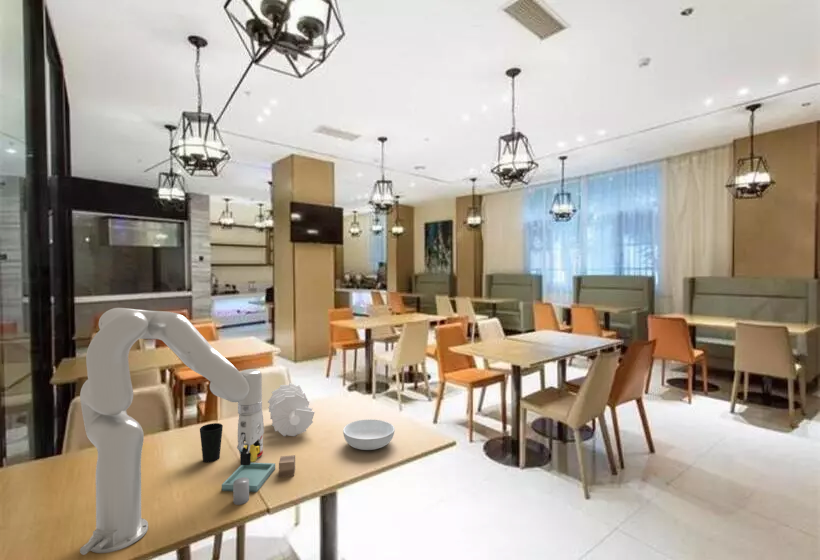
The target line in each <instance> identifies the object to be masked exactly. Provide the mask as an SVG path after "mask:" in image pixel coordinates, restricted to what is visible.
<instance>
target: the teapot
mask: <svg viewBox="0 0 820 560" xmlns="http://www.w3.org/2000/svg"><path fill="white" fill-rule="evenodd" d="M244 448H246V449H247V445H244ZM256 448H257V450H256ZM259 452H260V447H259V446H254V445H250V451H249V453H250V454H251V463H256V461H257V460H258V458H257V454H258V453H259Z"/></svg>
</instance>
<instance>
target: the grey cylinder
mask: <svg viewBox="0 0 820 560" xmlns="http://www.w3.org/2000/svg"><path fill="white" fill-rule="evenodd" d="M232 492H233V494H232V495H233V496H232V497H233V502H232V503H233V504H234V505H237V506H239V505H244V504H246V503H248V502H249V500H250V492H249V479H248V478H245V477H243V478H239V479H236V480H235V481H234V482H233V491H232Z"/></svg>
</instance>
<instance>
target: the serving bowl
mask: <svg viewBox="0 0 820 560" xmlns="http://www.w3.org/2000/svg"><path fill="white" fill-rule="evenodd" d="M395 428H396V427H395V426H394V425H393V424H392V423H390V422H388V421H385V420H381V419H376V418H375V419H372V418H371V419H360V420H359V419H358V420H355V421H352V422H350V423H348V424H346V425H345V426H344V427H343V429H342V433H343V437H344V440H345V442H346V443H347V444H348V445H349V446H351V447H352V448H355V449H357V450H361V451H372V450H373V451H374V450H378V449H381V448H384V447H386V446H387V445H388V444H389V443H390V442H391V441H392V439H393V438H394V435H395Z"/></svg>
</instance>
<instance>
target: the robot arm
mask: <svg viewBox="0 0 820 560" xmlns="http://www.w3.org/2000/svg"><path fill="white" fill-rule="evenodd" d="M98 328H99V331H98V332H96V333H95V335H94V336H93V337H92V340H90V343H89V345H88V347H87V350H86V356H85V357H86V358H85V364H86V373H87V379H86V380H85V382H84V383H83V384H82V386H81V388H80V393H79V400H80V402H79V403H80V407H81V413H82V419H83V424H84V430H85V433H86V437H87V439H88V440H89V442H90V443H91V444H92V445H93V446H94V447H95V448H96V450H97V461H96V466H95V467H96V468H95V523H96V524H95V530H93V531H92V535H91V536H90V538H89V539H88V542H86V543H85V544H84V545H82V546H81V547H80V549H79V552H80V554H81V555H83V556H85V555H87V554H88V553H89V552H92V553H96V554H106V553H113V552H116V551H119V550H123V549H125V548H127V547H129V546H131V545H133V544H135V543H136V542H138V541H139V540H141V539H142V538H143V537H144V536H145V535H146V533H147V532H148V530H149V522H148V521H147V520H146V519H144V518H142V453H143V452H142V451H143V445H144V434H145V433H144V431H143V428H142V426H141V423H140V422H139V421H137V420H136V419H134V418H133V417H132V416H131V415H128V412H127V409H129V408H130V406H131V405H132V403H133V400H134V389H133V384H132V378H131V372H130V363H129V355H130V354H129V353H130V350H131V349H132V346H133V345H134V344H135V343H136V342H137V341H138V340H142V339H143V340H160V341H162V342H163V343H164V344H165V345H166V346H167V347H168V348H169V350H171V351H172V352H173V353H174V354H175V355H176V356H177V357H178V358H179V360H181V362H182V363H183V364H184V365H186V367H188V368H189V369H191V371H193V372H195V373H197V374H198V375H200V376H202V377H203V378H205V379H207V380H208V381H209V382H210V383H209V390H210V392H211V394H212V395H214V396H216V397H218V398H220V399H223V400H225V401H228V402H230V403H237V414H238V423H237V443H238V444H237V445H236V446H237V447H236V449H237V451H238V452H239V456H240V458H239V460H240V461H239V462H240V465H250V464H251V463H252V462H251V454H250V453H249V451H250V445H254V446H259V447H260V443H259V442H260V441H261V439H260V437H261V436H262V435H263V436H264V433H265V428H264V427H265V425H264V413H263V394H262V393H263V392H262V391H263V388H262V386H263V383H262V382H263V378H262V372H261V370H259V369H257V368H256V369H255V368H254V369H253V368H252V369H251V368H250V369H249V368H248V369H243V370H241V371H239V369H237V368H236V366H234V364H232V363H231V362H230V361H229V360H228V359H227V358H225V357H224V356H223V355H222V354H221V353H220V352H219V351H218V350H217V349H215V348H214V347H213V345H212V344H211V343H209V342H208V340H207V339H206V338H205V337H204V336H203V334H201V332H199V330H198V329H197V328H196V327H195V326H194V324H193V323H192V322H191V321H190V320H189V319H188V318H187V317H186V316H184V315H182V314H180V313H179V312H178V313H176V312H171V311H164V310H163V311H162V310H147V309H136V308H135V309H134V308H126V307H113V308H111V309H109V310H106V311H105V312H104V313H102V314H101V316H100V318H99V321H98ZM245 441H247V443H245ZM245 445H247V449H246V448H244V446H245ZM256 450H257V448H256ZM259 454H260V452H259V453H258V454H257V455H259Z"/></svg>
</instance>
